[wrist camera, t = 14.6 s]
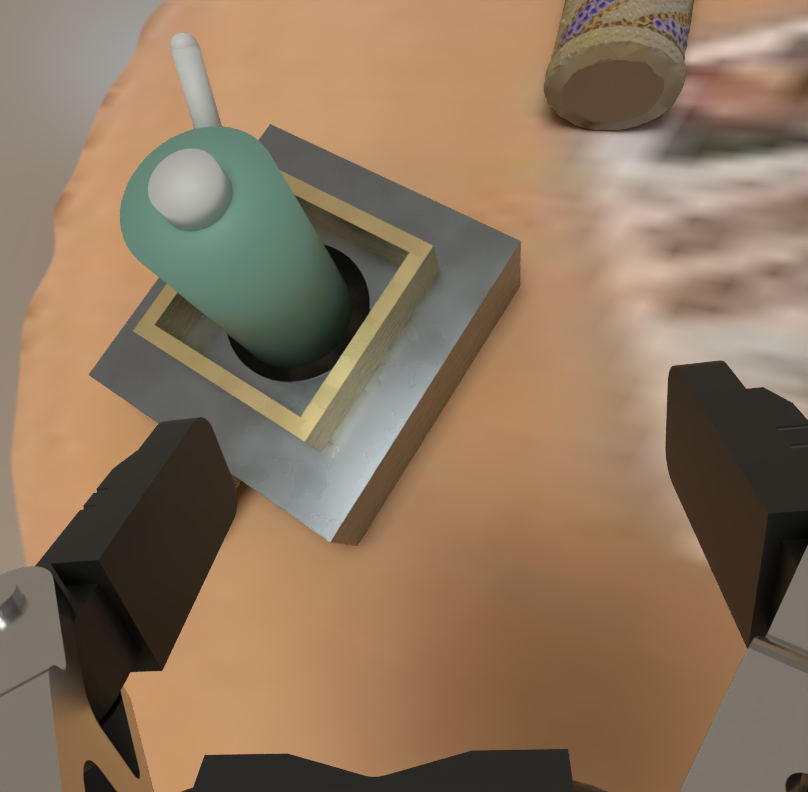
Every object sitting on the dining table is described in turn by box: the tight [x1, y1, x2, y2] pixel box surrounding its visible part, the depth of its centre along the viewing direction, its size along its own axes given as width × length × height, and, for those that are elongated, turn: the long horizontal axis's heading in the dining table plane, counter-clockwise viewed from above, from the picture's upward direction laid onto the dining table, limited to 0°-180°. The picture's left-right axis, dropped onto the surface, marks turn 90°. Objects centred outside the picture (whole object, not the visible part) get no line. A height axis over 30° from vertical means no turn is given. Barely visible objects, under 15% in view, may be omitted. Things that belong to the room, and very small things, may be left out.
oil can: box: [120, 33, 352, 368], centre depth 26 cm, size 9×6×12 cm
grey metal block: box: [89, 124, 521, 546], centre depth 32 cm, size 21×16×8 cm
